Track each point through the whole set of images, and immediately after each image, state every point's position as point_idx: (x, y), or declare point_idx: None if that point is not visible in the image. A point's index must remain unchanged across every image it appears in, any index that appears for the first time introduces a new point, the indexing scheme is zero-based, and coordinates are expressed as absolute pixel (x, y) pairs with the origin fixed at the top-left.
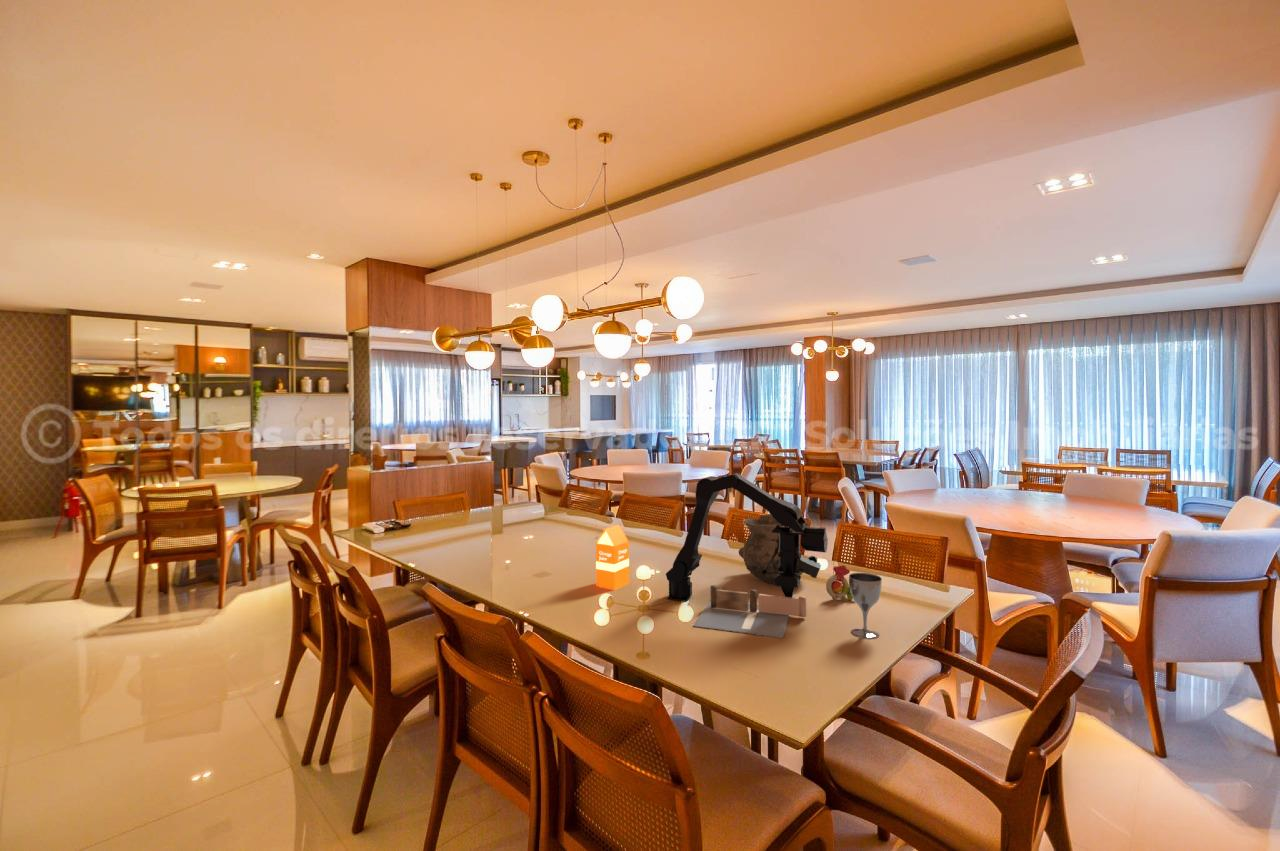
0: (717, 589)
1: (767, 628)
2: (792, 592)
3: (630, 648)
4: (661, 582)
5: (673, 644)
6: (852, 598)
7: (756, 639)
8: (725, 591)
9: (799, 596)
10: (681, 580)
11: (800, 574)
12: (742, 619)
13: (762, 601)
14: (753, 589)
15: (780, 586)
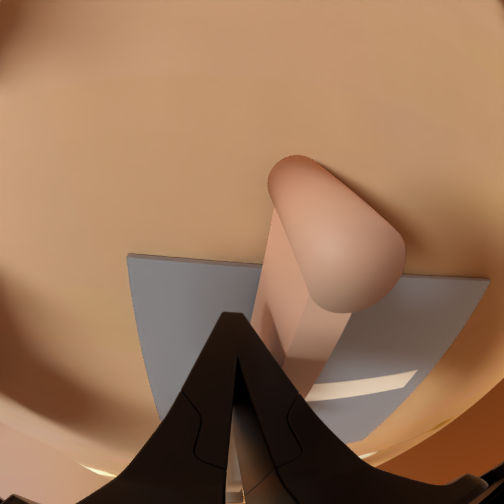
0: (232, 493)
1: (424, 335)
2: (302, 400)
3: (417, 439)
4: (112, 468)
5: (425, 422)
6: None
7: (466, 339)
8: (241, 487)
9: (323, 307)
10: None
11: None
12: (334, 402)
13: None
14: (234, 482)
15: (494, 467)
